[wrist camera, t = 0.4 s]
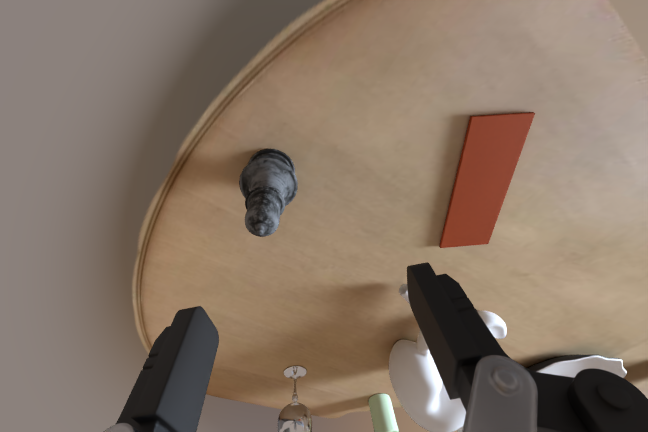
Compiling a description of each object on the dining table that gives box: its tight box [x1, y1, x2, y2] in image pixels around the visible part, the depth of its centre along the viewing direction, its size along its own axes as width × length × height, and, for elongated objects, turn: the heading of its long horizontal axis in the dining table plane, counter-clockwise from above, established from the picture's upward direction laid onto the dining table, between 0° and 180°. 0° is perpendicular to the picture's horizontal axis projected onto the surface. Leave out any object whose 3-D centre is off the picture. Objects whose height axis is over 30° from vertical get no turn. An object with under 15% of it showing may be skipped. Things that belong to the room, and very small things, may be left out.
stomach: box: [389, 284, 507, 432], centre depth 47 cm, size 23×13×24 cm
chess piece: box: [239, 149, 297, 237], centre depth 26 cm, size 6×6×12 cm
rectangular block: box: [439, 112, 535, 248], centre depth 35 cm, size 18×7×1 cm, turn 2°
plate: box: [528, 355, 627, 378], centre depth 65 cm, size 29×29×2 cm
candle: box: [368, 394, 399, 432], centre depth 60 cm, size 5×5×8 cm
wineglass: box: [278, 366, 312, 432], centre depth 49 cm, size 6×6×12 cm
